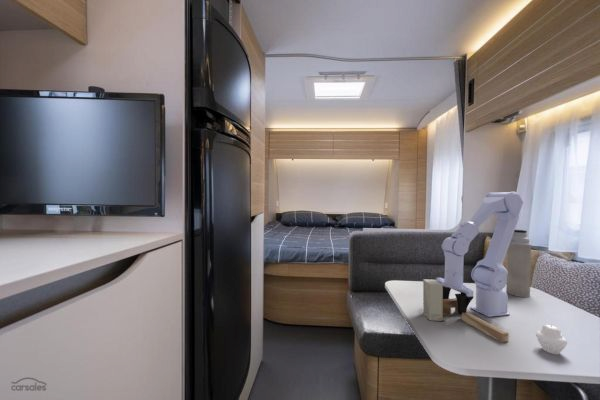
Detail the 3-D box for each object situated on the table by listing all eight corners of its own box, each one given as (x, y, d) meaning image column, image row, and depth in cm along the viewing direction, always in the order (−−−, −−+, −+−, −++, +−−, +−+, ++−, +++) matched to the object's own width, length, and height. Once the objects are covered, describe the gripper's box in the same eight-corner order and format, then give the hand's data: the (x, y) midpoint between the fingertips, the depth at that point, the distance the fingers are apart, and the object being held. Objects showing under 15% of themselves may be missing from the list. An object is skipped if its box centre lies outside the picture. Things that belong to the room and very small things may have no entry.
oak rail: (467, 319, 89) (467, 312, 89) (508, 341, 76) (508, 333, 76) (461, 320, 89) (462, 312, 89) (502, 342, 75) (502, 333, 75)
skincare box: (443, 321, 88) (443, 285, 88) (429, 320, 88) (430, 284, 88) (435, 313, 94) (435, 279, 94) (422, 312, 94) (422, 278, 94)
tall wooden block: (462, 311, 96) (462, 297, 96) (466, 313, 94) (467, 299, 94) (438, 313, 94) (439, 299, 94) (442, 315, 92) (443, 301, 92)
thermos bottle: (519, 290, 120) (521, 229, 120) (535, 297, 112) (536, 231, 112) (501, 290, 120) (503, 228, 120) (516, 296, 112) (517, 230, 112)
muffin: (529, 344, 75) (530, 319, 75) (551, 345, 74) (552, 320, 74) (549, 357, 68) (550, 330, 68) (574, 358, 68) (574, 331, 68)
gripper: (429, 266, 100) (428, 302, 100) (461, 278, 86) (460, 319, 86) (445, 265, 102) (444, 301, 102) (479, 277, 87) (478, 317, 88)
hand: (452, 309), depth 94 cm, fingers open, 7 cm apart
